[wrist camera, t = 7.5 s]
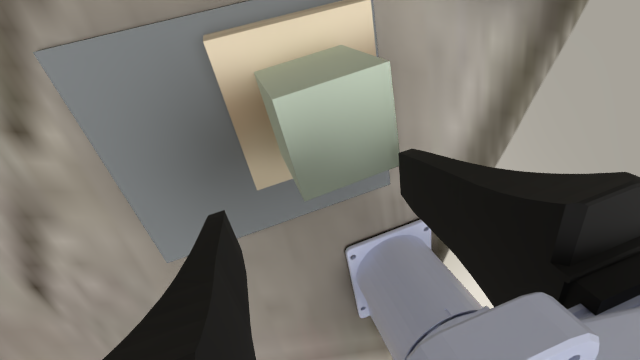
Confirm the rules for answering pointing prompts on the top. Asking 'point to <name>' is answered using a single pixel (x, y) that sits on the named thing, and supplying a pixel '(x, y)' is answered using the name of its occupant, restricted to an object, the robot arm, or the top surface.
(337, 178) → the sage block
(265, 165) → the oak base
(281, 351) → the top surface
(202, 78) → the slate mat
